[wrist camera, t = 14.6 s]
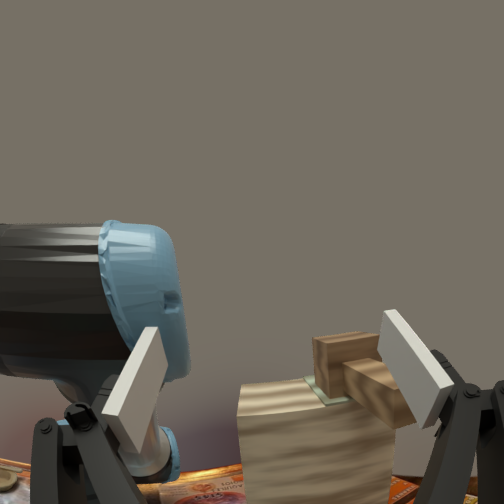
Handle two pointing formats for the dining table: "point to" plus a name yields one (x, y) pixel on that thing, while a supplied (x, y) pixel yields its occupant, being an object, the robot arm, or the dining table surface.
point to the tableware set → (8, 477)
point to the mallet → (359, 376)
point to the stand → (311, 446)
